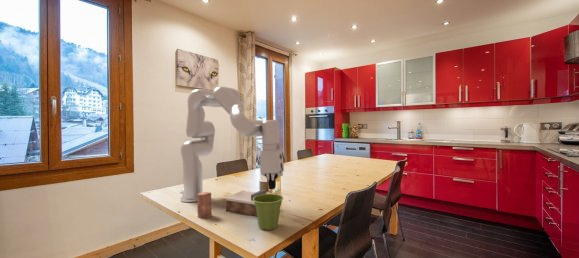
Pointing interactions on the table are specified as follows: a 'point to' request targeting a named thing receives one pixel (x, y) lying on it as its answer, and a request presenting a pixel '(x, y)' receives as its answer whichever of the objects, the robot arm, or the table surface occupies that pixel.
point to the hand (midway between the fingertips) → (272, 188)
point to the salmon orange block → (204, 204)
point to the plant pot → (268, 210)
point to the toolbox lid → (245, 196)
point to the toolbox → (241, 208)
